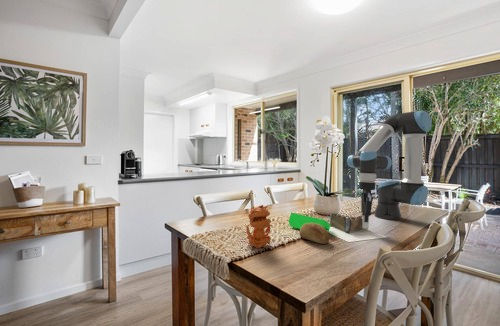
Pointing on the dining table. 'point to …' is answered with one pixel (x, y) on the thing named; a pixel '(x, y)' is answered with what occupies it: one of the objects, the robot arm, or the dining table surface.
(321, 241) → the bread roll
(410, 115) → the robot arm
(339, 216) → the fence fixed
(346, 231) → the hinge post
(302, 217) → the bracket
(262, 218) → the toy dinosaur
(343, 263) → the dining table surface
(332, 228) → the card
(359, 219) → the fence panel
